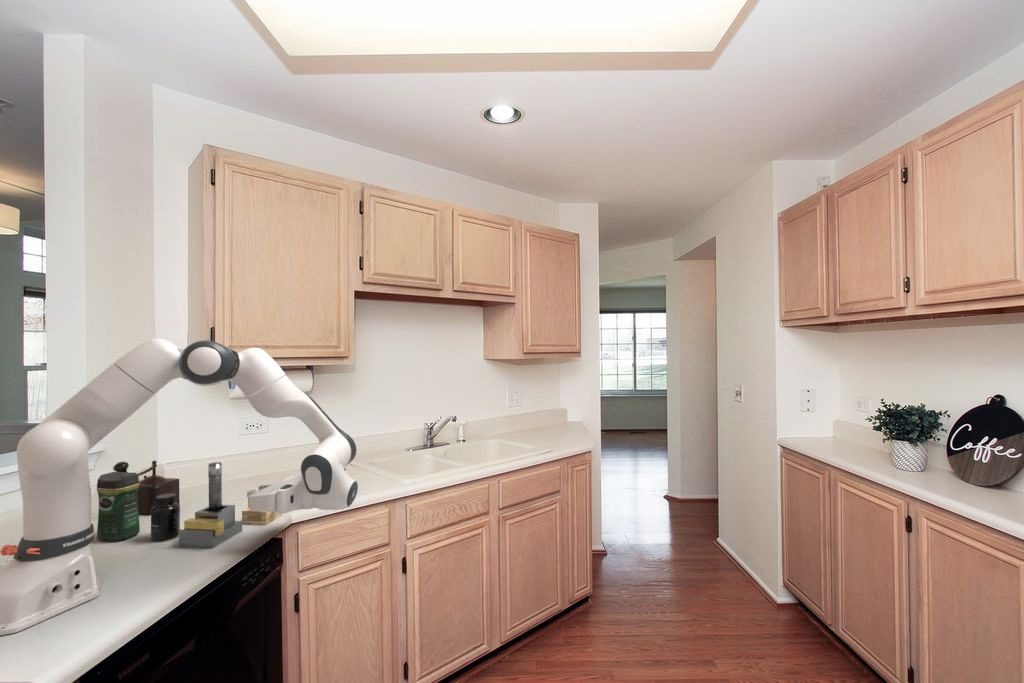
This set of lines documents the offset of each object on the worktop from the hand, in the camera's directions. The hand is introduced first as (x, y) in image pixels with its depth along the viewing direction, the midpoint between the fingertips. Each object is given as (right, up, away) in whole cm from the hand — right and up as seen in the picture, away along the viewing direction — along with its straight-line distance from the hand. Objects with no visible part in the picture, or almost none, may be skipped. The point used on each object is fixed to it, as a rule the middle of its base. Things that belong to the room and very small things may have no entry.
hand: (254, 490), depth 139 cm
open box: (-5, -13, +15) cm, 21 cm away
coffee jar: (-40, -14, +2) cm, 42 cm away
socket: (-12, -14, 0) cm, 18 cm away
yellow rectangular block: (-12, -10, -4) cm, 16 cm away
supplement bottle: (-26, -14, +1) cm, 30 cm away
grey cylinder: (-12, -11, +1) cm, 16 cm away
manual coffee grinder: (-47, -14, +22) cm, 54 cm away
